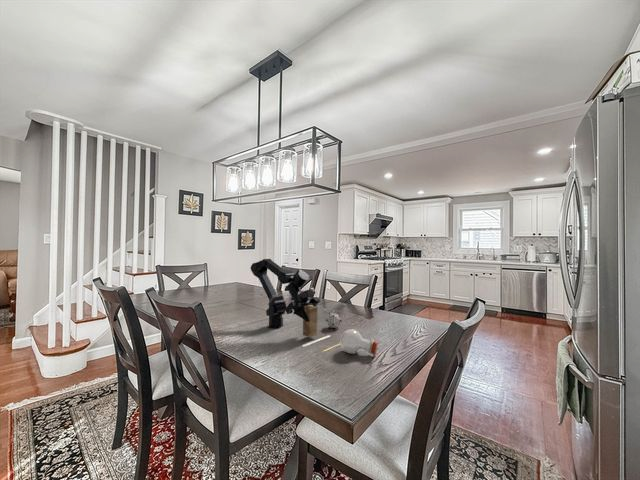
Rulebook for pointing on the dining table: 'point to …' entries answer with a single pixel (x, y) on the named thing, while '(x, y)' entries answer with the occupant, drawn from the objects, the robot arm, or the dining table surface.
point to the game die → (333, 320)
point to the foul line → (315, 341)
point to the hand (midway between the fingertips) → (312, 320)
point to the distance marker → (331, 347)
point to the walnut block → (310, 321)
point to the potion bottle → (357, 343)
